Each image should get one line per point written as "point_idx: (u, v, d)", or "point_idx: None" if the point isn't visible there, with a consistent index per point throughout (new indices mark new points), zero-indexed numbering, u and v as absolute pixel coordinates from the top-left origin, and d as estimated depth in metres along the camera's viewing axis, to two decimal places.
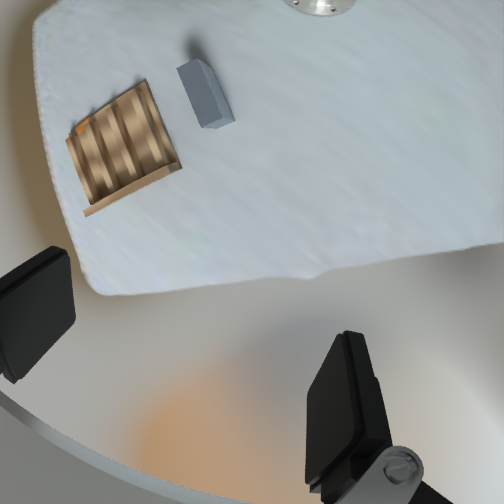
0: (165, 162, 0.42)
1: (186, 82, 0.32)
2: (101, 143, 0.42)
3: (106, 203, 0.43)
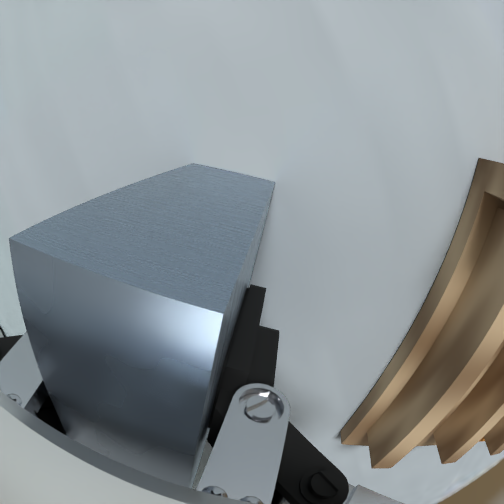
0: None
1: None
2: None
3: None
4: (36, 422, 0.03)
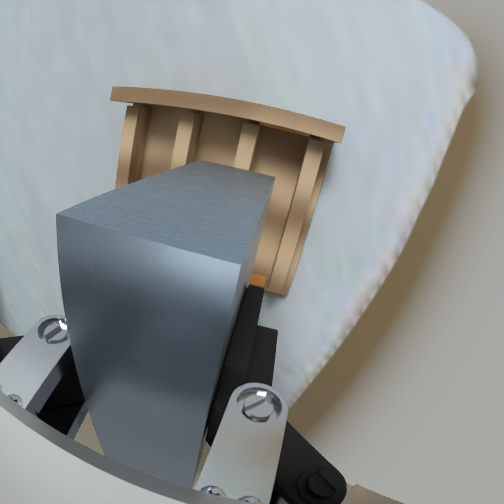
0: None
1: (179, 466, 0.06)
2: None
3: (267, 109, 0.19)
4: (36, 422, 0.03)
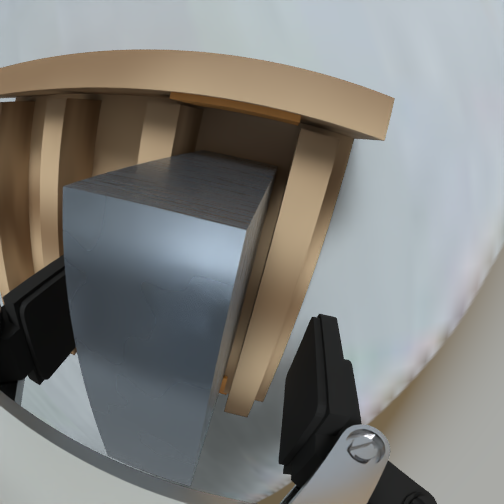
0: None
1: (180, 454, 0.06)
2: None
3: (185, 60, 0.06)
4: (36, 422, 0.03)
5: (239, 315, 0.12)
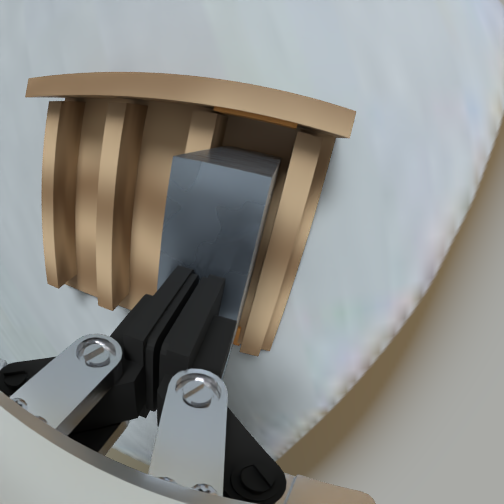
0: None
1: None
2: None
3: (224, 86, 0.11)
4: (36, 422, 0.03)
5: (254, 265, 0.16)
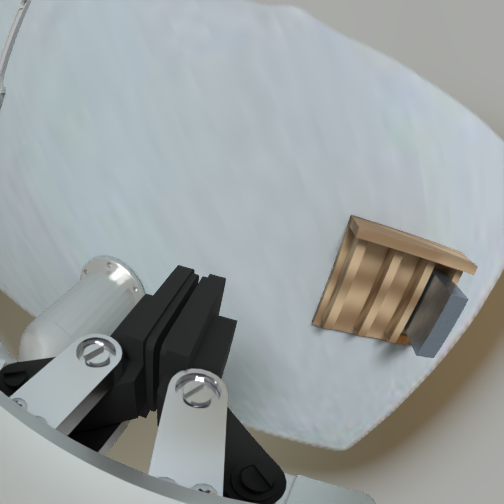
0: (358, 238, 0.33)
1: (441, 342, 0.30)
2: (399, 311, 0.37)
3: (447, 258, 0.30)
4: (36, 422, 0.03)
5: None
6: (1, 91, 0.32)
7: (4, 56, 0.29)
